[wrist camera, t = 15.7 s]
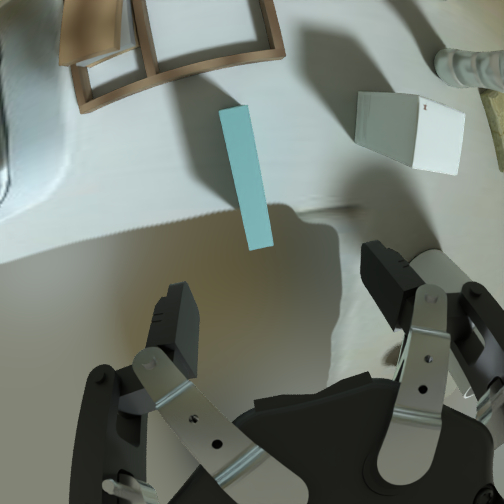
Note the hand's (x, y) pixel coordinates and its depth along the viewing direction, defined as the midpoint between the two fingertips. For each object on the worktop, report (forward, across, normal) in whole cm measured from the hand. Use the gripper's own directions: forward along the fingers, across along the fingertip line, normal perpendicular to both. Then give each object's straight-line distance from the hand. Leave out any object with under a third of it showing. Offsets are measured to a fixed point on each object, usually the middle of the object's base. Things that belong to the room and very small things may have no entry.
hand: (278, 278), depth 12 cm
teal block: (+23, 0, 0) cm, 23 cm away
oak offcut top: (+20, +12, -26) cm, 35 cm away
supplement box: (+24, -19, -3) cm, 30 cm away
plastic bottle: (+24, -33, -12) cm, 42 cm away
